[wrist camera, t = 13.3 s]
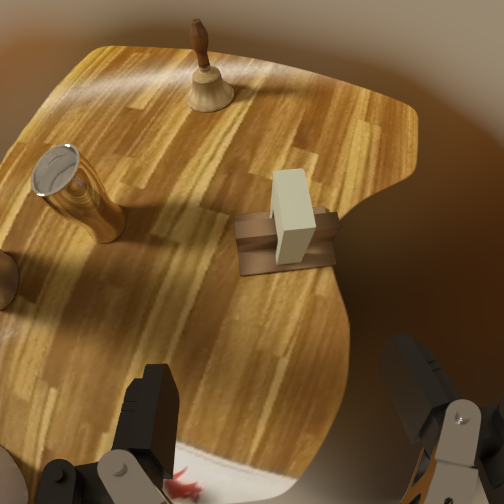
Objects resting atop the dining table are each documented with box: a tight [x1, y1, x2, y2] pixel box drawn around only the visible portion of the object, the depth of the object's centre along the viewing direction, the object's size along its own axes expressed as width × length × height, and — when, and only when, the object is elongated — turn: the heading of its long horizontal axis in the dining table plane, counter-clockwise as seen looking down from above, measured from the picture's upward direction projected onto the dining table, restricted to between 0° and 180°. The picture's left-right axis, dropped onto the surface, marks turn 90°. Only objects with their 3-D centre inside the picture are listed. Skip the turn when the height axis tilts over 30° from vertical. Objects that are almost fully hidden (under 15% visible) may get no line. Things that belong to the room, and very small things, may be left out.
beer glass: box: [31, 144, 126, 243], centre depth 35 cm, size 7×7×15 cm
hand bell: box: [186, 19, 234, 112], centre depth 42 cm, size 8×8×16 cm
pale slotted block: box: [270, 169, 316, 265], centre depth 35 cm, size 6×3×11 cm, turn 7°
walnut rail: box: [234, 206, 340, 276], centre depth 38 cm, size 12×8×5 cm, turn 96°
